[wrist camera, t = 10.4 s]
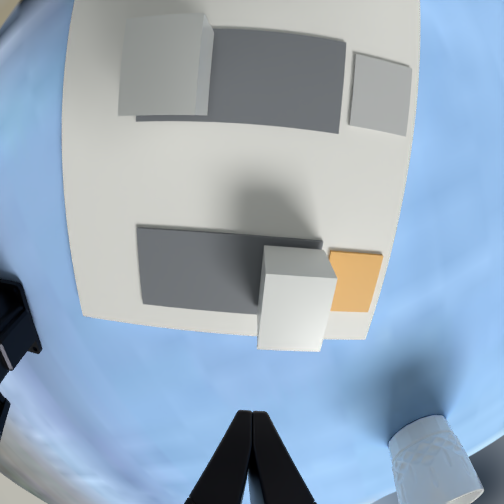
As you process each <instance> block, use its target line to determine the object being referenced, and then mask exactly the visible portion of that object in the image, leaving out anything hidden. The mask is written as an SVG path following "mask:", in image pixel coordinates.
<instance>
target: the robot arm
mask: <svg viewBox="0 0 504 504" xmlns="http://www.w3.org/2000/svg"><path fill="white" fill-rule="evenodd" d="M27 351H29V352H33V353H36V354H39V353H40V352H41V351H42V347H41V344H40V341H39V338H38V335H37V333H36V330H35V327H34V324H33V320H32V317H31V314H30V311H29V308H28V304H27V301H26V297H25V294H24V290H23V287H22V286H21V284H20V283H18V282H13V281H8V280H3V279H0V383H1V382H2V380H3V379H4V377H5V376H6V375H7V373H8V372H9V370H10V371H13V370H14V368H15V367H16V365H17V364H18V363H19V361H20V360H21V359H22V357H23V356H24V355H25V353H26V352H27ZM9 408H10V402H9V401H8V400H7V398H4V396H3V395H2V394H1V392H0V440H1V436H2V432H3V428H4V425H5V421H6V418H7V414H8V411H9ZM247 474H248V481H249V491H250V501H251V504H317V503H316V502H314V501H315V500H314V498H313V496H312V495H311V493H310V491H309V489H308V488H307V486H306V484H305V482H304V480H303V479H302V477H301V475H300V473H299V471H298V470H297V468H296V466H295V464H294V462H293V460H292V459H291V457H290V455H289V453H288V451H287V449H286V447H285V446H284V444H283V442H282V440H281V438H280V436H279V434H278V432H277V430H276V429H275V427H274V425H273V423H272V421H271V419H270V417H269V415H268V413H267V412H265V411H253V413H252V412H251V411H248V410H239V411H238V412H237V413H236V415H235V417H234V419H233V421H232V422H231V424H230V426H229V428H228V430H227V431H226V433H225V435H224V437H223V439H222V440H221V442H220V444H219V446H218V447H217V449H216V451H215V453H214V454H213V456H212V458H211V460H210V461H209V463H208V465H207V467H206V468H205V470H204V472H203V473H202V475H201V477H200V479H199V480H198V482H197V484H196V485H195V487H194V489H193V490H192V492H191V494H190V495H189V497H190V498H187V500H186V501H185V503H184V504H242V500H243V495H244V490H245V485H246V480H247Z"/></svg>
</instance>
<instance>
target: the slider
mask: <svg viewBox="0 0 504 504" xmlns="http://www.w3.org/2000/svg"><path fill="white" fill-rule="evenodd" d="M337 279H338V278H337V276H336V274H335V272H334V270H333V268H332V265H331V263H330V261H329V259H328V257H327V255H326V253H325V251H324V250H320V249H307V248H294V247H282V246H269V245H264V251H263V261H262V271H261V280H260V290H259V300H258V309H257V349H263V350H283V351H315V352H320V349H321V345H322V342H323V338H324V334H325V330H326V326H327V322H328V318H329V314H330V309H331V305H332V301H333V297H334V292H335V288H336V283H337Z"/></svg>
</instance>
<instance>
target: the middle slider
mask: <svg viewBox="0 0 504 504" xmlns="http://www.w3.org/2000/svg"><path fill="white" fill-rule="evenodd" d="M213 40H214V31H213V29H212V27H211V25H210V23H209V21H208V19H207V18H206V16H205V14H204V13H184V14H167V15H155V16H145V17H137V18H129V19H126V25H125V33H124V41H123V50H122V60H121V71H120V83H119V100H118V116H137V115H207V113H208V99H209V85H210V73H211V62H212V51H213Z"/></svg>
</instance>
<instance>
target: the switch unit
mask: <svg viewBox="0 0 504 504" xmlns="http://www.w3.org/2000/svg"><path fill="white" fill-rule="evenodd" d="M184 13H204V14H205V16H206V18H207V19H208V21H209V23H210V25H211V27H212V29H213V31H214V40H213V51H212V62H211V73H210V85H209V99H208V113H207V115H137V116H118V100H119V83H120V71H121V60H122V50H123V41H124V33H125V25H126V19H129V18H137V17H145V16H155V15H167V14H184ZM419 61H420V0H74V5H73V11H72V16H71V22H70V29H69V35H68V43H67V51H66V60H65V70H64V83H63V100H62V166H63V184H64V198H65V209H66V218H67V227H68V235H69V243H70V249H71V256H72V262H73V268H74V274H75V279H76V285H77V290H78V295H79V299H80V304H81V309H82V313H83V316H87V317H93V318H99V319H105V320H111V321H118V322H125V323H132V324H139V325H146V326H154V327H162V328H171V329H180V330H189V331H199V332H209V333H221V334H233V335H247V336H257V309H258V300H259V290H260V280H261V271H262V261H263V251H264V245H269V246H282V247H294V248H307V249H320V250H324V251H325V253H326V255H327V257H328V259H329V261H330V263H331V265H332V268H333V270H334V272H335V274H336V276H337V278H338V279H337V283H336V288H335V292H334V297H333V301H332V305H331V309H330V314H329V318H328V322H327V326H326V330H325V334H324V338H323V339H354V340H365V339H366V336H367V333H368V330H369V327H370V324H371V321H372V318H373V314H374V311H375V308H376V305H377V301H378V298H379V295H380V291H381V288H382V284H383V281H384V277H385V273H386V270H387V266H388V262H389V258H390V254H391V250H392V246H393V242H394V238H395V233H396V229H397V225H398V220H399V215H400V211H401V206H402V201H403V195H404V190H405V185H406V179H407V173H408V167H409V161H410V154H411V147H412V140H413V132H414V124H415V115H416V105H417V93H418V80H419Z"/></svg>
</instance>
